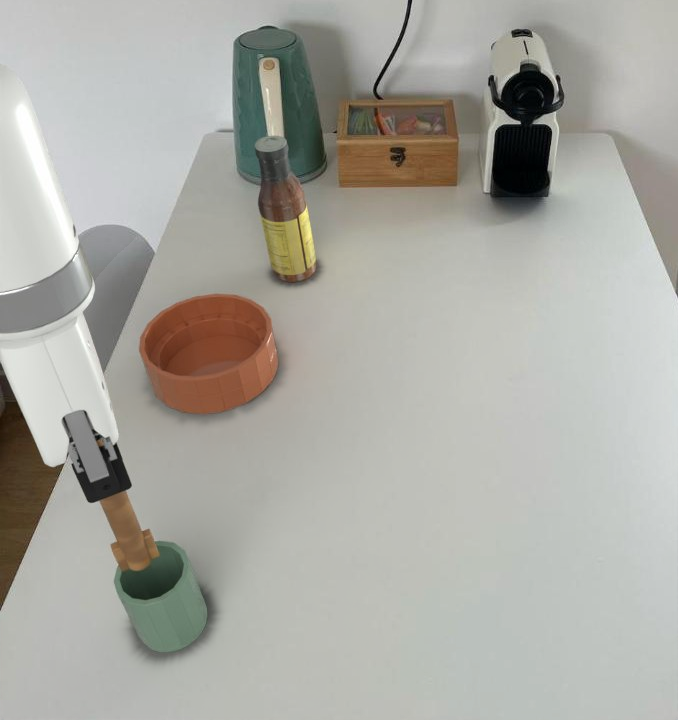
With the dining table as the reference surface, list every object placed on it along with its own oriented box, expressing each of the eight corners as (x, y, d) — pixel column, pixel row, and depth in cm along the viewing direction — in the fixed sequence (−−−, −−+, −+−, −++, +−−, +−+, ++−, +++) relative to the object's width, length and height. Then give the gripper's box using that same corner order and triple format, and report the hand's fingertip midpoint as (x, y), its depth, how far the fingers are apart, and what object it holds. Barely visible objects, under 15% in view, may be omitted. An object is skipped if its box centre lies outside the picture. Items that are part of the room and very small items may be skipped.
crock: (148, 665, 71) (124, 617, 65) (131, 608, 75) (106, 559, 70) (216, 633, 73) (198, 584, 67) (195, 579, 77) (176, 529, 72)
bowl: (172, 435, 91) (159, 397, 87) (137, 356, 101) (125, 319, 97) (297, 387, 96) (291, 349, 92) (253, 316, 106) (245, 279, 102)
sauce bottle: (300, 252, 116) (281, 123, 102) (326, 272, 112) (310, 140, 99) (262, 271, 113) (237, 140, 100) (286, 291, 109) (264, 159, 96)
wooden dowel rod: (123, 578, 66) (64, 446, 55) (117, 559, 67) (58, 428, 56) (162, 561, 67) (111, 430, 56) (155, 544, 68) (104, 411, 57)
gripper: (-60, 232, 52) (35, 429, 64) (-30, 384, 41) (76, 584, 54) (61, 201, 54) (129, 396, 67) (118, 337, 44) (186, 538, 56)
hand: (105, 479), depth 60 cm, fingers closed on wooden dowel rod, 2 cm apart
